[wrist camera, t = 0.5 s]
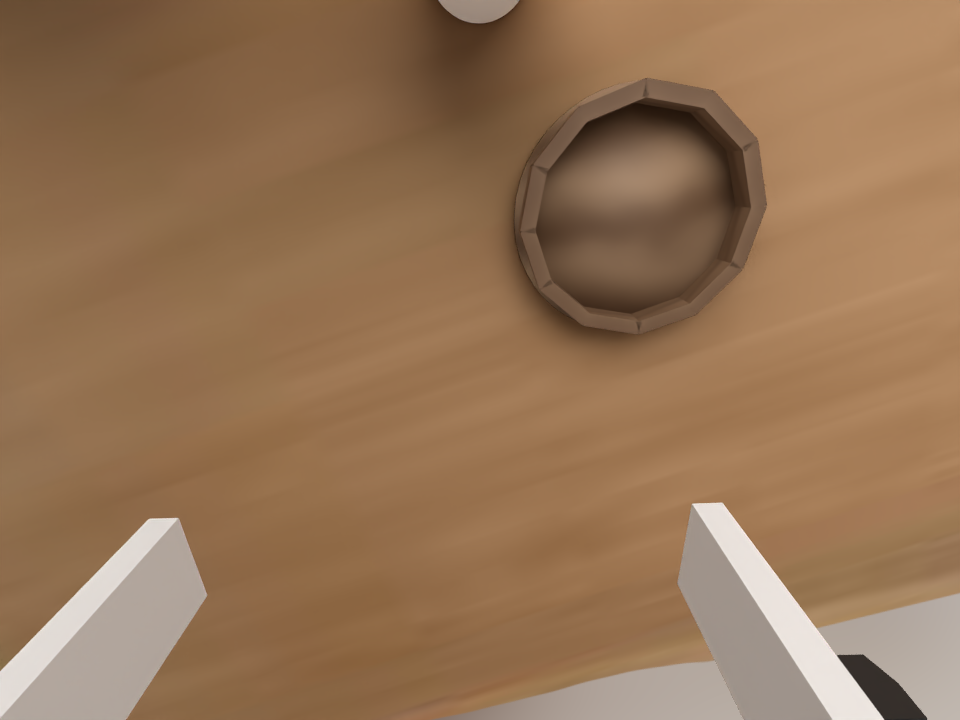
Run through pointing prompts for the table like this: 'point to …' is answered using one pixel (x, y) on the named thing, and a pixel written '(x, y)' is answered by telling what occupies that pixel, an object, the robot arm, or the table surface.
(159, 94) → the table surface
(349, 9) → the table surface
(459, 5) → the cup
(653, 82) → the round tray
